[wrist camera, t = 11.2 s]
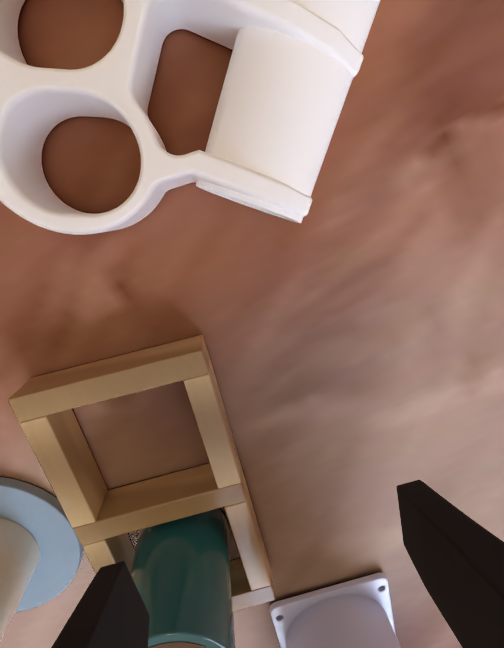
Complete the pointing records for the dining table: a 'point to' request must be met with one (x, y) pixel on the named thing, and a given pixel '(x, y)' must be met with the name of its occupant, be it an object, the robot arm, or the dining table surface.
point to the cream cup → (15, 568)
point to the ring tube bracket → (230, 118)
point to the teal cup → (186, 582)
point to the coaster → (42, 538)
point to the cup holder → (154, 494)
